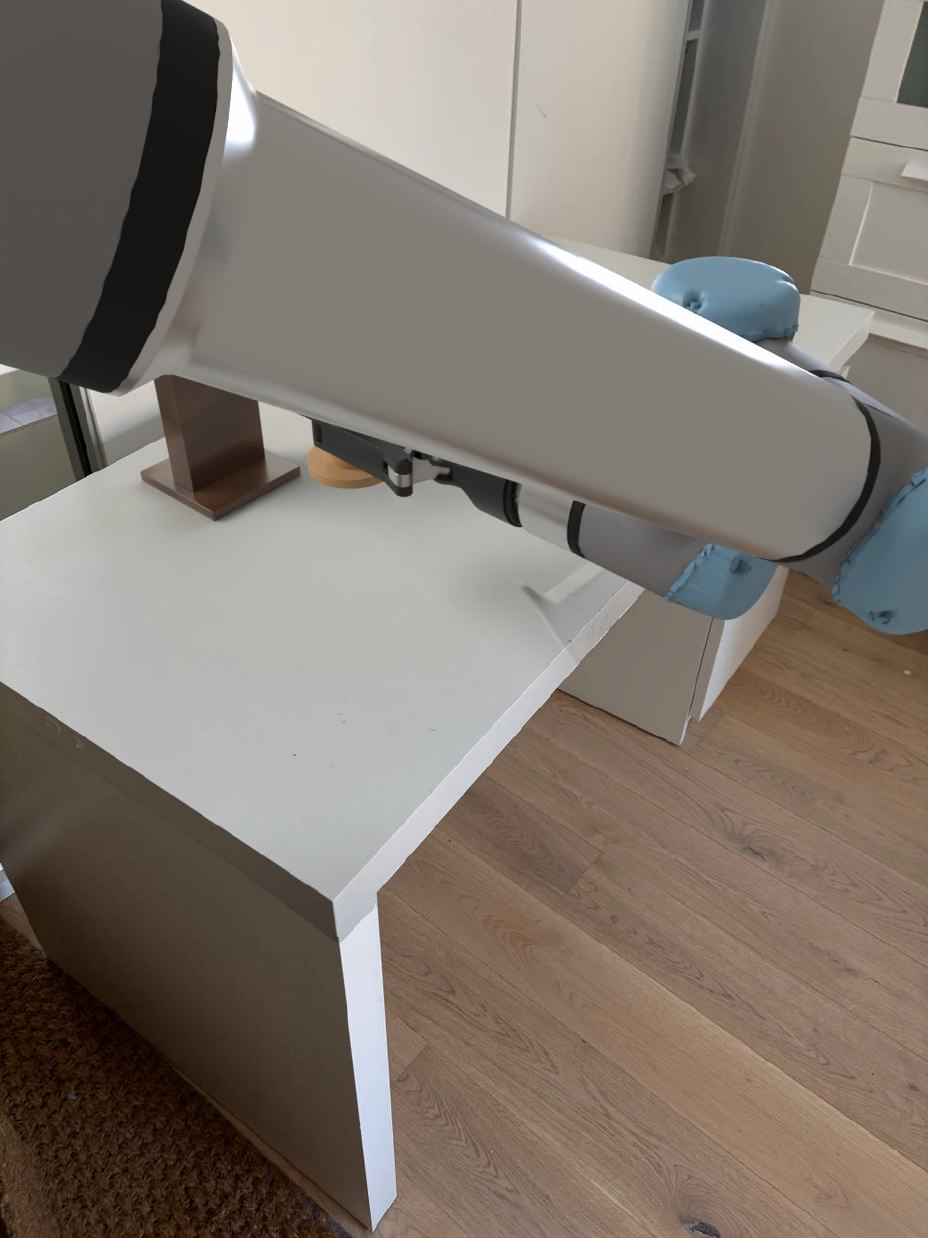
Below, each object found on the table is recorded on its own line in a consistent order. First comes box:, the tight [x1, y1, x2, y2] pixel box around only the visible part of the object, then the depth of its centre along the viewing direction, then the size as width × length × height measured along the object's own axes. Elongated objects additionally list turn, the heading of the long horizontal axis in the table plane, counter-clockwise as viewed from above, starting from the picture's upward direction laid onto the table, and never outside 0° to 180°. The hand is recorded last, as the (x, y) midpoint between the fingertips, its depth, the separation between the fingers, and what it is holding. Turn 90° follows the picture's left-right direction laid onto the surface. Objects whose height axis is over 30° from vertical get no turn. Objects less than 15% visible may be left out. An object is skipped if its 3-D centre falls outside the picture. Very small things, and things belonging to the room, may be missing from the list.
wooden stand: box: [139, 375, 302, 522], centre depth 89 cm, size 17×11×17 cm, turn 51°
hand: (298, 370), depth 74 cm, fingers closed on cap, 4 cm apart
